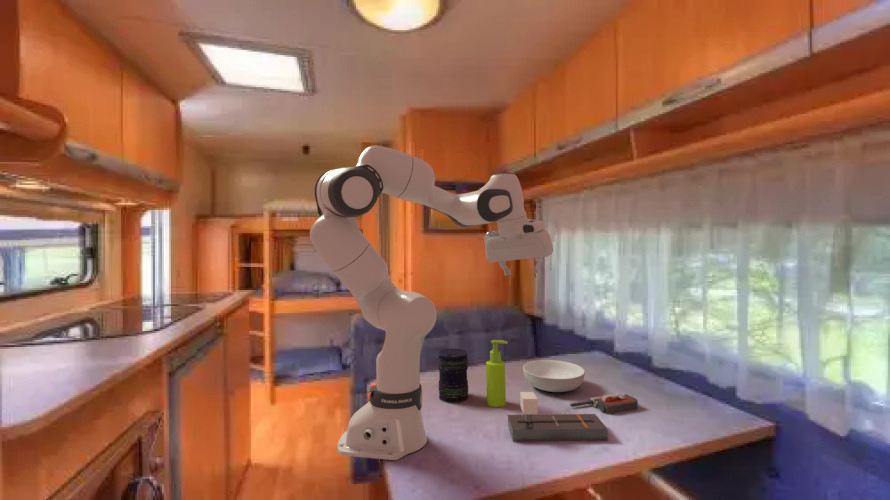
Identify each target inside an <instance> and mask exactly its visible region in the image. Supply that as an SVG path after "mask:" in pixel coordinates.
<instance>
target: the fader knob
mask: <svg viewBox="0 0 890 500" xmlns="http://www.w3.org/2000/svg"><path fill="white" fill-rule="evenodd" d="M519 396H520V397H519V401H520V403H519V404H520V409H521V412H522V415H525V420H526V422H533V415H539V414H538V411H539V410H538V398H537V397H538V396H536V394H535V393H534V391H520V392H519Z"/></svg>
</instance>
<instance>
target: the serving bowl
mask: <svg viewBox="0 0 890 500" xmlns="http://www.w3.org/2000/svg"><path fill="white" fill-rule="evenodd" d="M522 371H523V375H524V378H525V380H526V381H527V382H528V383H529V384H530V385H531V386H532V387H535V388H537V389H539V390H541V391H545V392H550V393H565V392H571V391H573V390H575V389H577V388H578V387H580V386H581V385H582V383H583V381H584V379H585V373H586V371H585V369H584V368H583V367H582V366H580V365H578V364H575V363H573V362H569V361H564V360H555V359H553V360H552V359H539V360H533V361H529V362H526V363H525V364H524V365H523V366H522Z"/></svg>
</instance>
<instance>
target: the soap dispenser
mask: <svg viewBox="0 0 890 500" xmlns="http://www.w3.org/2000/svg"><path fill="white" fill-rule="evenodd" d="M508 343H509V342H508V341H506V340H503V339H502V340H501V339H493V340H490V344H491V345H492V349H491V350H490V351H489V360H488V361H486V364H485V365H486V366H485V367H486V374H485V375H486V376H485V377H486V405H487V406H489V407H491V408H503V407H505V406H506V405H507V404H506V403H507V401H506V400H507V398H506V396H507V395H506V361H504V360H502V351H501V350H499V344H503V345H508Z"/></svg>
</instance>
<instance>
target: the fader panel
mask: <svg viewBox="0 0 890 500" xmlns="http://www.w3.org/2000/svg"><path fill="white" fill-rule="evenodd" d="M532 415H533V422H526V420H525V414H507V426H508V430H509V433H510V437H511V440H512V442H584V441H585V442H589V441H597V442H599V441H609V439H608V438H609V436H608V435H609V434H608V432H609V429H608V427H606V425H605V424H604V423H603V422H602V420H601V419H600V418H599V417H598V416H597V415H596V413H564V414H563V413H562V414H561V413H556V414H553V413H552V414H550V413H549V414H546V413H545V414H543V413H542V414H532Z"/></svg>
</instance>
